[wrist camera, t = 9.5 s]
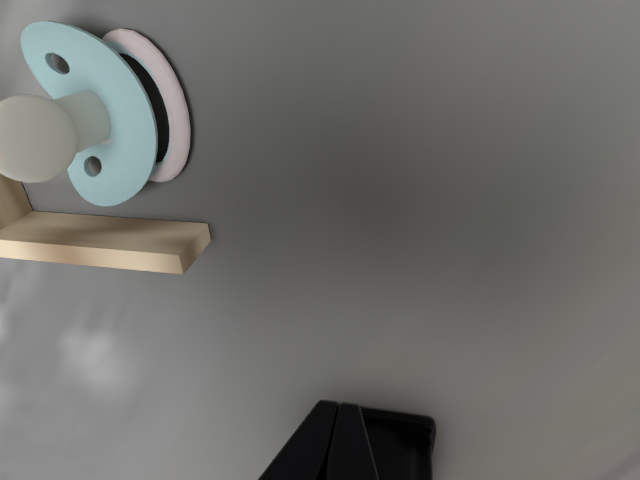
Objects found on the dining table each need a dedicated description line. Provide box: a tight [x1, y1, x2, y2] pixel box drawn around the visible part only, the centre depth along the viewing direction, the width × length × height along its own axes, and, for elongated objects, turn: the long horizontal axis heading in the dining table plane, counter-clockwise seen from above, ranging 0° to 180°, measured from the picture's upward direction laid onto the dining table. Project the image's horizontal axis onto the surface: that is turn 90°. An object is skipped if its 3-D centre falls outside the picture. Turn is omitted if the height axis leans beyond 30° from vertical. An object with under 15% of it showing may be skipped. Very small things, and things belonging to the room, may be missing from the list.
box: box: [0, 174, 211, 274], centre depth 17 cm, size 11×14×3 cm
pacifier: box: [0, 21, 191, 206], centre depth 16 cm, size 7×6×6 cm
